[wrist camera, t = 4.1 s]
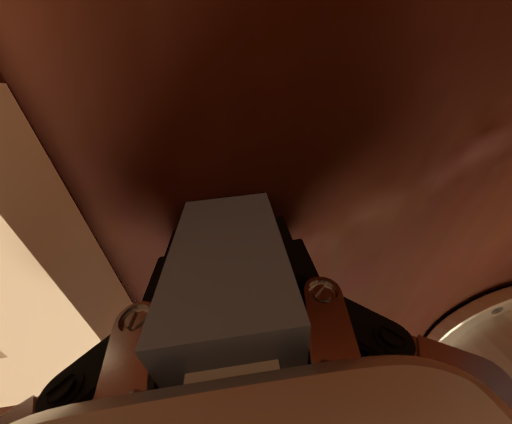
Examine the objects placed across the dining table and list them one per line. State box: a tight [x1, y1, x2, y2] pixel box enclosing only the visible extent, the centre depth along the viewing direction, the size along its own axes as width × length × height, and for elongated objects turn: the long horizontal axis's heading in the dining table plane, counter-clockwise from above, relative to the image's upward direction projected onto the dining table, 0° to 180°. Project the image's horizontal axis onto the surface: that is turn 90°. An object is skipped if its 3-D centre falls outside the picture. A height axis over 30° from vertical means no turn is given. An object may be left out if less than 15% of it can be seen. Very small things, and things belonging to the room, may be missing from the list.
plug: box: [134, 193, 311, 388], centre depth 9 cm, size 4×5×8 cm
